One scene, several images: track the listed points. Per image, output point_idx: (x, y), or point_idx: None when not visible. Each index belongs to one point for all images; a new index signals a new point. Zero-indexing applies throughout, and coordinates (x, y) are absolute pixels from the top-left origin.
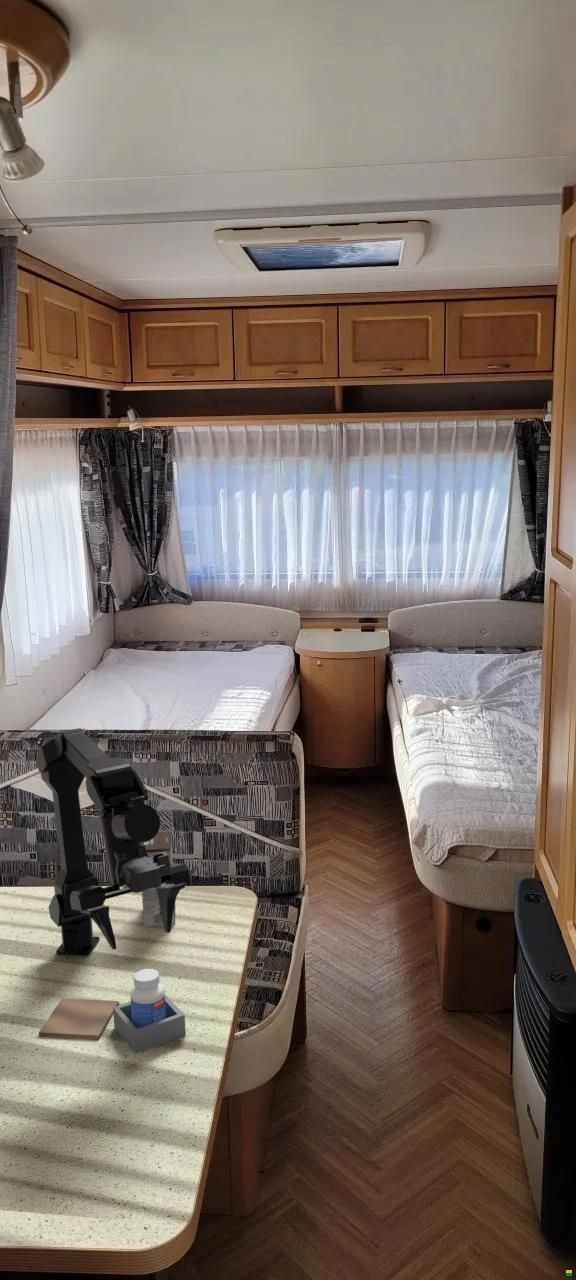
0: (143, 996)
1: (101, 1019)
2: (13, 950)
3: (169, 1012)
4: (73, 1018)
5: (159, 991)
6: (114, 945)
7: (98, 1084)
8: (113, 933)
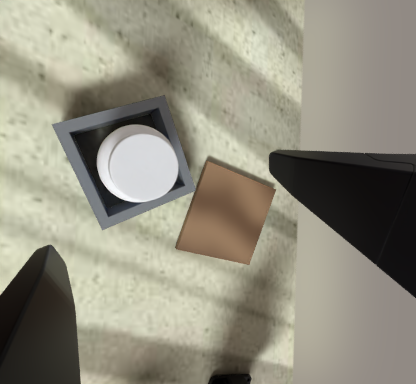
0: (150, 130)
1: (202, 203)
2: (290, 377)
3: (89, 173)
4: (237, 212)
5: (109, 141)
6: (283, 152)
7: (210, 45)
8: (321, 159)
